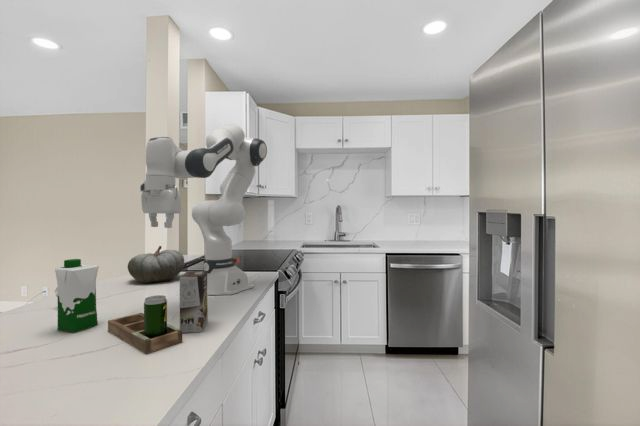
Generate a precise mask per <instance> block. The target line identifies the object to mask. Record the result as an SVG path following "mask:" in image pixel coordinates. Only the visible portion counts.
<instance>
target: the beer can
mask: <svg viewBox="0 0 640 426" xmlns="http://www.w3.org/2000/svg"><path fill="white" fill-rule="evenodd" d="M143 314H144V336H146V337H148V338H149V339H152V338H155V337H158V336H162V335H165V334H167V324H168V299H167V296H166V295H160V294H157V295H151V296H148V297H145V298H144V302H143Z"/></svg>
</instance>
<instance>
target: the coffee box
mask: <svg viewBox="0 0 640 426" xmlns="http://www.w3.org/2000/svg"><path fill="white" fill-rule="evenodd" d="M208 308H209V307H208V295H207V271H204V270H194V271H185V273H182V274H181V276H179V329H180V330H182V334H186V333H202V332H203V330H204V329H205V327H206V325H207V324H208V315H209V314H208Z"/></svg>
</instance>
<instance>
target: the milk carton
mask: <svg viewBox="0 0 640 426" xmlns="http://www.w3.org/2000/svg"><path fill="white" fill-rule="evenodd" d="M99 267H100V266H99V265H98V266H97V265H93V264H82V260H81V259H80V258H73V259H72V258H71V259H66V260H63V266H61V267H59V268H55V269H54V271H55V277H56V282H57V283H56V284H57V286H56V288H58V297H57V330H58V331H63V332H66V333H67V332H68V333H73V334H75V333H77V332H79V331H80V332H81V331H84V330H86V329H89V328H92V327H95V326H98V325H99V322H98V313H97V277H98V272H99Z"/></svg>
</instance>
